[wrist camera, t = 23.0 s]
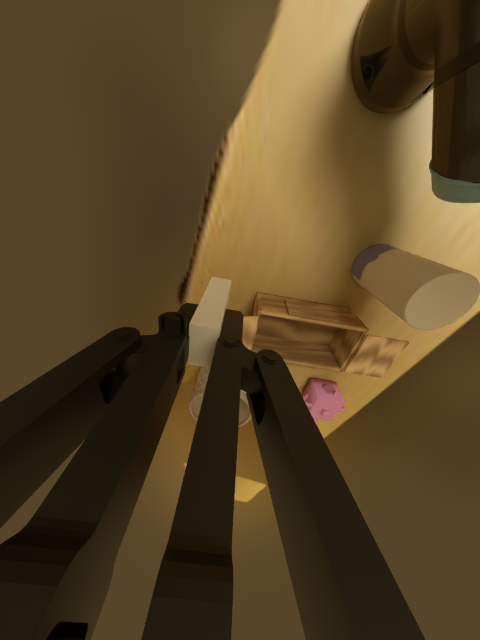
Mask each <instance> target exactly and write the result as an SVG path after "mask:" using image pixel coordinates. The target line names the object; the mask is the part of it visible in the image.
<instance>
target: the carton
mask: <svg viewBox="0 0 480 640" xmlns="http://www.w3.org/2000/svg"><path fill="white" fill-rule="evenodd" d="M252 316H258V321H257V325H256V329H255V333H254V337H253V340H252V344H251V348H250V350H251V351H253V352H256V353H258V351H260V350H263V349H269V350H273V351H275V352H277V353H278V354H280V355H281V357H282V358H283V360H284V362H285V364H291V365H298V366H304V367H310V368H322V369H328V370H334V371H341V372H342V371H343V369H344V368H345V366H346V364H347V363H348V361H349V360H350V358H351V357H352V355H353V354H354V352H355V350H356V349H357V347H358V346H359V344H360V343H361V341H362V340H363V338H364V336H365V335H366V333H367V332H368V330H369V329H368V328H367V327H366V326H365V325H364V324H363V323H362V321H361V320H360V319H359V318H358V317H357V316H356V315H355V314H354V312H353V311H352V310H351V309H349V308H343V307H338V306H332V305H326V304H321V303H315V302H310V301H304V300H299V299H293V298H287V297H282V296H276V295H271V294H265V293H260V292H257V295H256V299H255V303H254V307H253V311H252Z"/></svg>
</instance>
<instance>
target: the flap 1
mask: <svg viewBox="0 0 480 640" xmlns="http://www.w3.org/2000/svg"><path fill="white" fill-rule="evenodd" d="M257 321H258V316H244V317H243V333H242V342H243V344H244V346H245V347H246V348H248V349H249V350H250V348H251V344H252V340H253V337H254V333H255V329H256V325H257Z"/></svg>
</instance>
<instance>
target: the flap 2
mask: <svg viewBox="0 0 480 640" xmlns="http://www.w3.org/2000/svg"><path fill="white" fill-rule="evenodd" d="M408 344H409V342H408V341H403V340H397V339H391V338H385V337H379V336H373V335H367V336H366V337H365V339H364V340H363V342H362V343H361V345H360V346H359V348H358V349H357V351H356V352H355V354H354V356H353V357H352V359H351V360H350V362H349V363H348V365H347V366H346V368H345V369H344V372H348V373H354V374H361V375H367V376H373V377H380V378H381V377H382V375H383V374H384V373H385V372H386V371H387V369H388V368H389V367H390V366H391V364H392V363H393V362H394V361H395V360H396V358H397V357H398V356H399V355H400V353H401V352H402V351H403V350H404V348H405V347H406V346H407V345H408Z"/></svg>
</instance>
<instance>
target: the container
mask: <svg viewBox="0 0 480 640" xmlns="http://www.w3.org/2000/svg"><path fill="white" fill-rule="evenodd" d="M352 276H353V278H354V280H355V281H356V282H357V283H358V284H359V285H361V286H362V287H363V288H364V289H366V290H367V291H368V292H369V293H370V294H372V295H373V296H374V297H375V298H377V299H378V300H379V301H380V302H382V303H383V304H384V305H385V306H387V307H388V308H389V309H390V310H391V311H393V312H394V313H395V314H396V315H398V316H399V317H400V318H401V319H403V320H404V321H405V322H406V323H408V324H409V325H410V326H411V327H413V328H416V329H420V330H431V329H437V328H440V327H443V326H446V325H448V324H451V323H453V322H454V321H456V320H458V319H459V318H461V317H462V316H463V315H464V314H466V313H467V312H468V311H469V310H470V309H471V307H472V306H473V305H474V304H475V302H476V300H477V298H478V296H479V292H480V285H479V282H478V280H477V279H476V278H475V277H474V276H472V275H470V274H468V273H465V272H462V271H459V270H456V269H454V268H451V267H448V266H445V265H442V264H439V263H437V262H434V261H431V260H428V259H425V258H422V257H420V256H417V255H414V254H411V253H408V252H406V251H403V250H400V249H397V248H394V247H391V246H389V245H385V244H379V245H374V246H371V247H369V248H367V249H366V250H364V251H363V252H362V253H361V254H360V255H359V256H358V257H357V258H356V260H355V262H354V264H353V267H352Z"/></svg>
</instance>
